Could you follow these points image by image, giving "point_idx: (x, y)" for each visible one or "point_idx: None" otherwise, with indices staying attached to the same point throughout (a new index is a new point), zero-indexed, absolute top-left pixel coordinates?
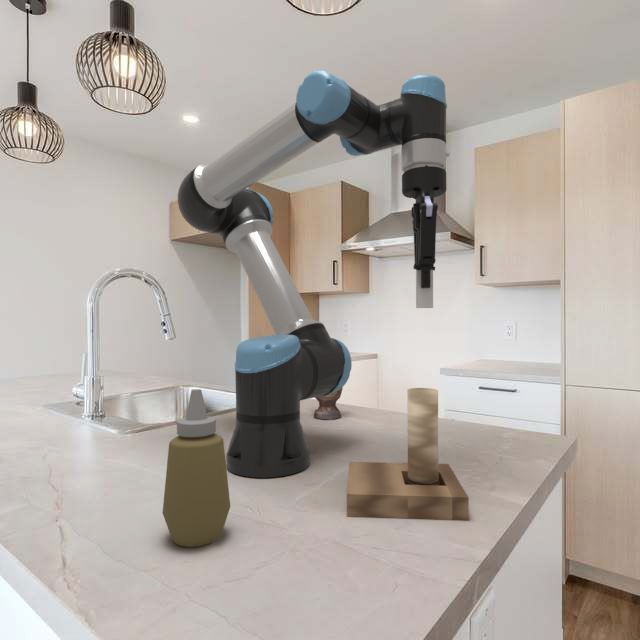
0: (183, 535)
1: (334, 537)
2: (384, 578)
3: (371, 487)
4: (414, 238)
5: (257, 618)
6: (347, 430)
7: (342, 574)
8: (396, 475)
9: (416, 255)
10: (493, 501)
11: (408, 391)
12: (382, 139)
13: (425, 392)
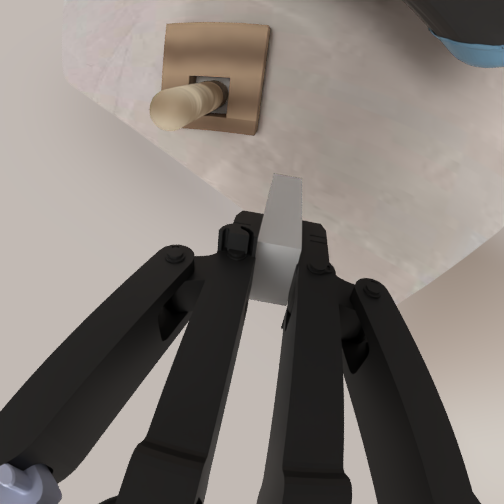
0: None
1: (140, 21)
2: (96, 58)
3: (181, 44)
4: (425, 440)
5: (71, 8)
6: (481, 87)
7: (99, 35)
8: (216, 70)
9: (311, 315)
10: (207, 156)
11: (165, 89)
12: None
13: (150, 110)
